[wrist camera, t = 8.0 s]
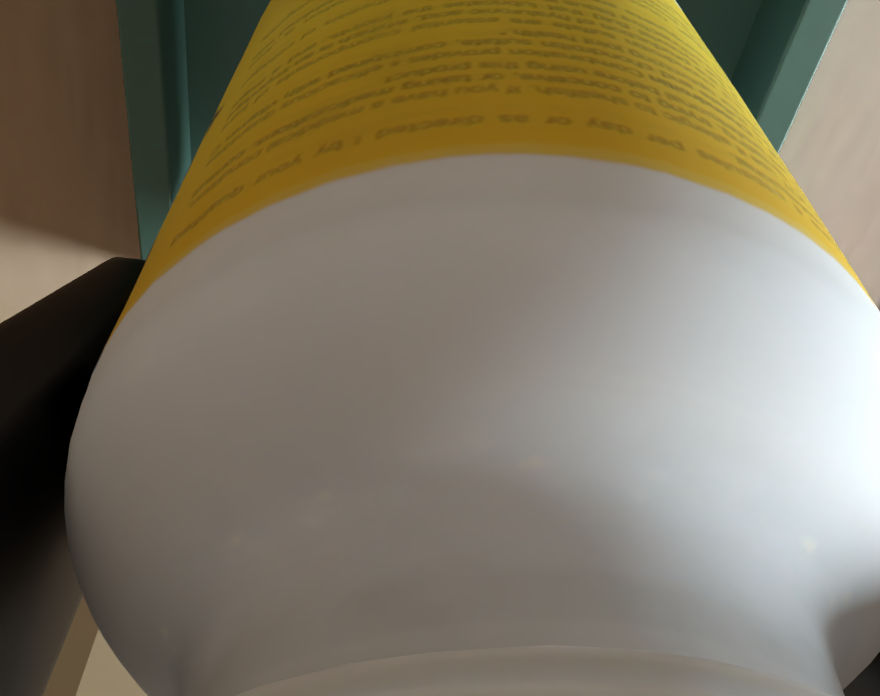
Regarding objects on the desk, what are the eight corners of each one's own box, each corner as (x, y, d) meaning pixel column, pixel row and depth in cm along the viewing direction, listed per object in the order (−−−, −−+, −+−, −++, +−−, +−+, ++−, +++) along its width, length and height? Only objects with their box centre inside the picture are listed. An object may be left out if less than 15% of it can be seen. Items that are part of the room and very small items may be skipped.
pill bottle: (245, -165, 10) (-907, 934, 2) (744, -103, 11) (2115, 1033, 2) (262, 262, 15) (-19, 1218, 6) (621, 294, 15) (878, 1228, 6)
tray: (881, -237, 11) (949, -220, 10) (651, 329, 18) (671, 391, 16) (129, -385, 10) (76, -392, 9) (173, 271, 17) (147, 332, 15)
